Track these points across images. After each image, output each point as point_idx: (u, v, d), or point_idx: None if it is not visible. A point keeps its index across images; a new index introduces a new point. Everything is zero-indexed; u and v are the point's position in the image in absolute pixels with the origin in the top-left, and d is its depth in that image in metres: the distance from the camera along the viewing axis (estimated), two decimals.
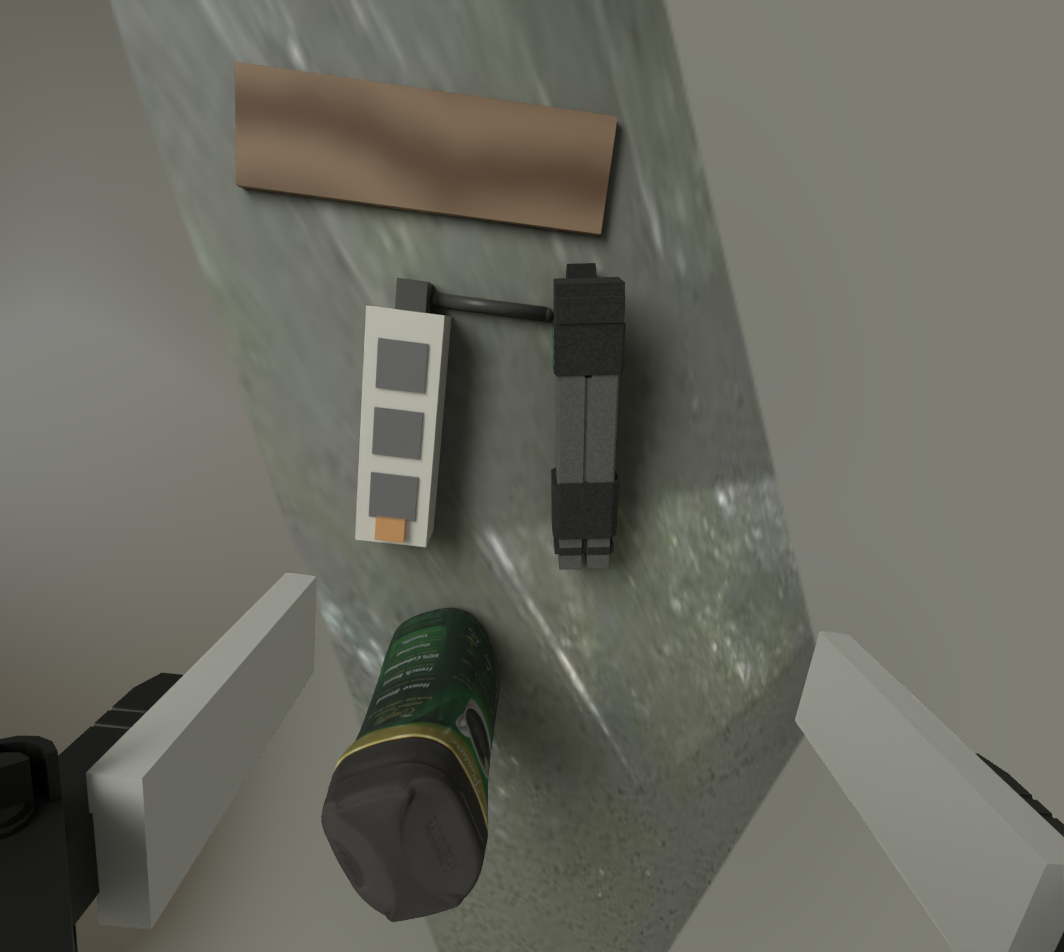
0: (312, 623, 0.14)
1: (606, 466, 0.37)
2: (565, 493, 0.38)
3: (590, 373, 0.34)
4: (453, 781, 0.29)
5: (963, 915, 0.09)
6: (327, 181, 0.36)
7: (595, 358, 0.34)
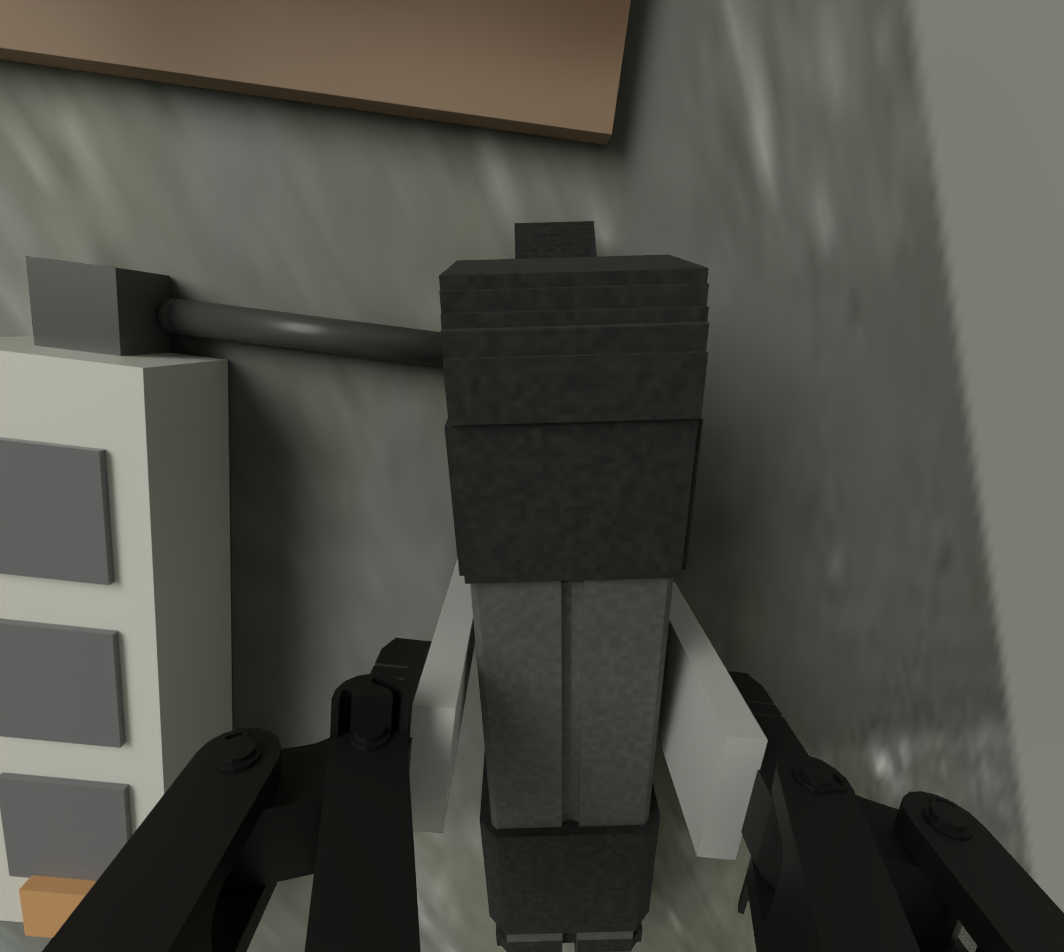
0: None
1: (627, 794, 0.13)
2: (514, 852, 0.14)
3: (578, 575, 0.10)
4: None
5: (692, 793, 0.11)
6: None
7: (595, 530, 0.10)
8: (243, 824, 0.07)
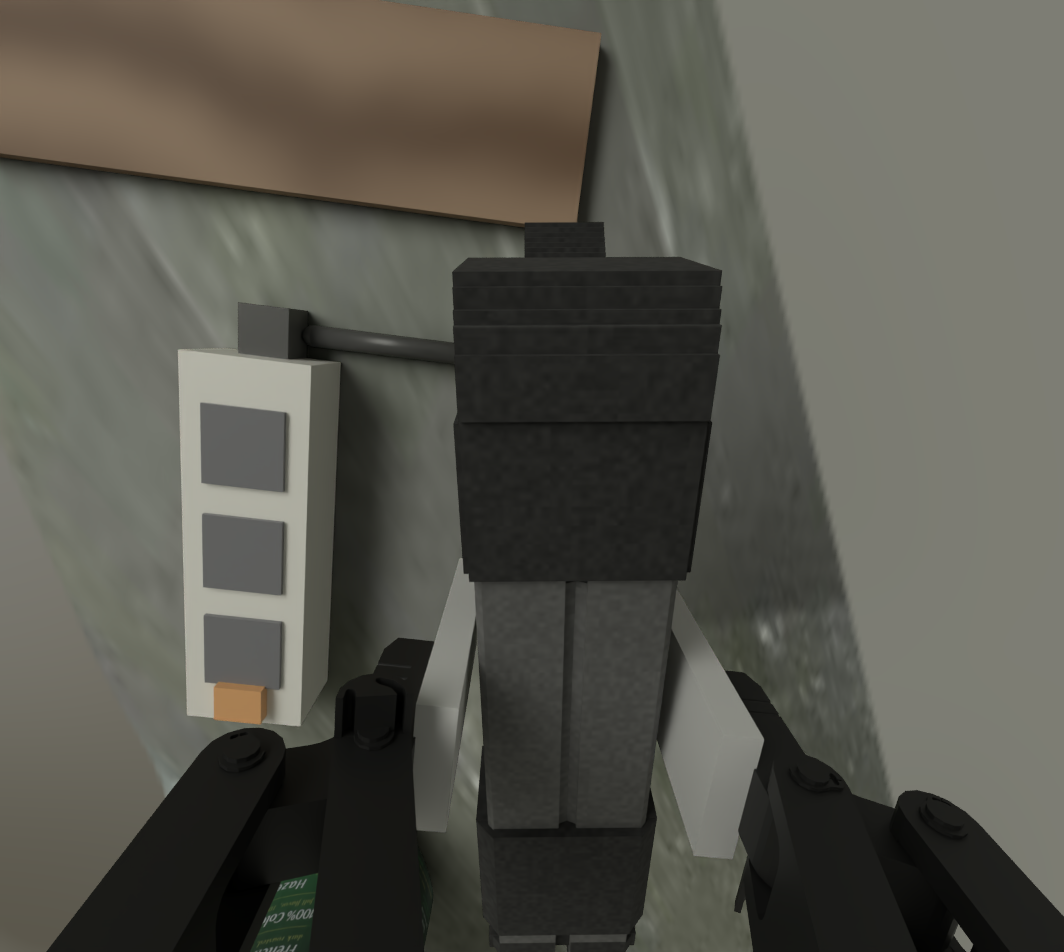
0: None
1: (625, 796, 0.13)
2: (510, 853, 0.14)
3: (583, 575, 0.10)
4: None
5: (689, 793, 0.11)
6: (121, 143, 0.22)
7: (601, 531, 0.10)
8: (247, 824, 0.07)
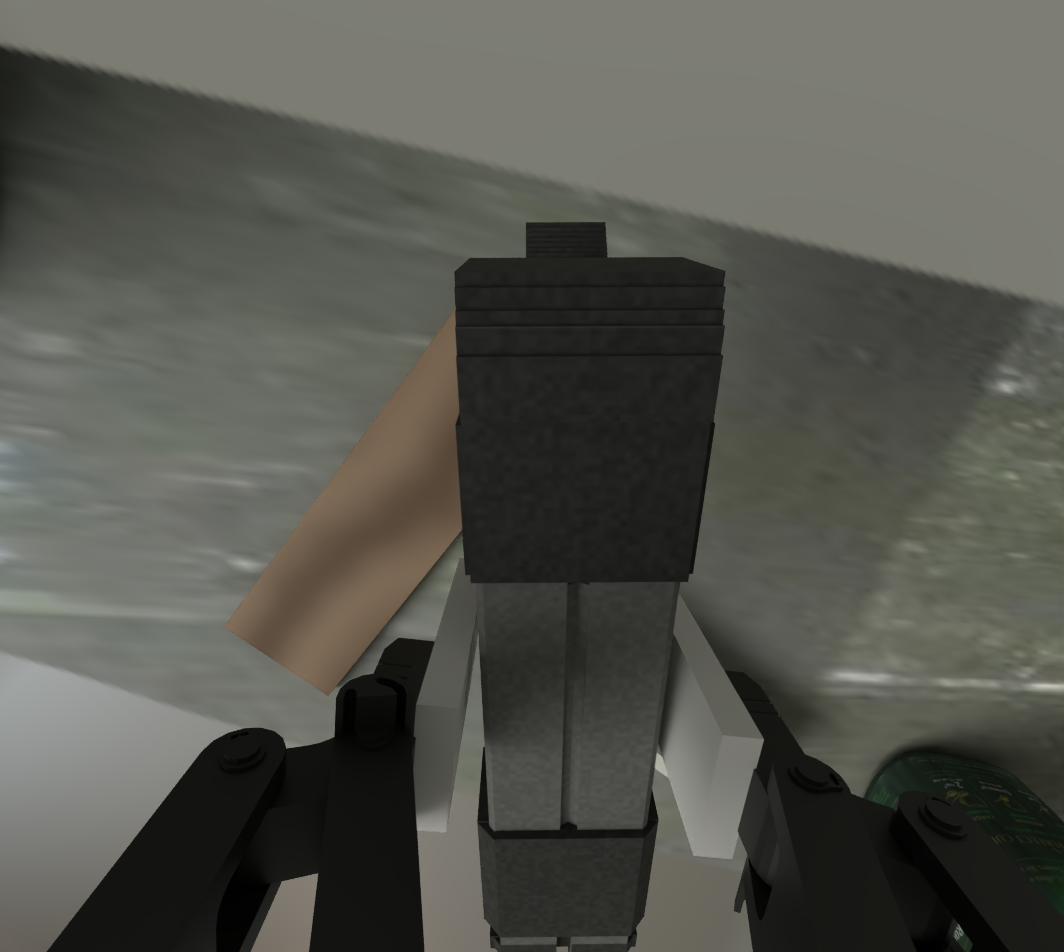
0: None
1: (627, 798, 0.13)
2: (511, 855, 0.14)
3: (585, 577, 0.10)
4: None
5: (689, 792, 0.11)
6: (373, 613, 0.31)
7: (603, 532, 0.10)
8: (248, 824, 0.07)
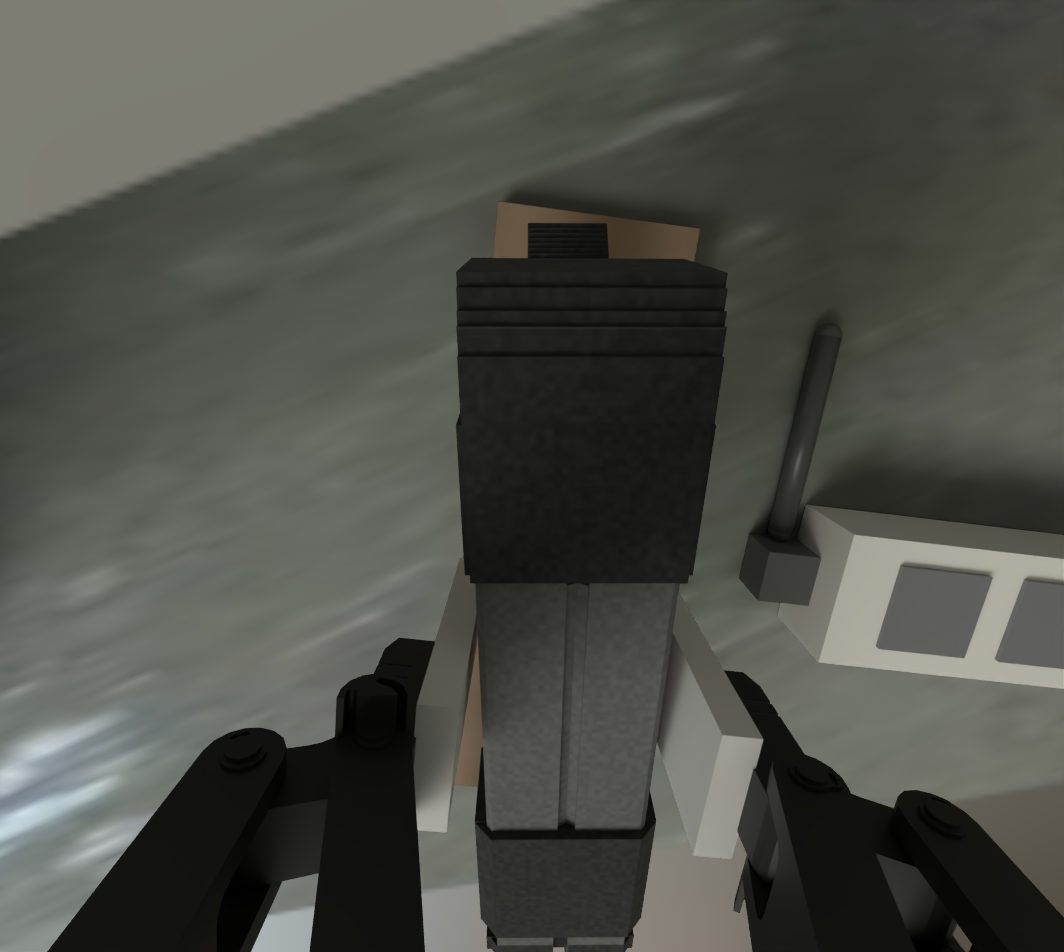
0: None
1: (624, 799, 0.13)
2: (509, 855, 0.14)
3: (585, 578, 0.10)
4: None
5: (688, 792, 0.11)
6: None
7: (603, 533, 0.10)
8: (248, 823, 0.07)
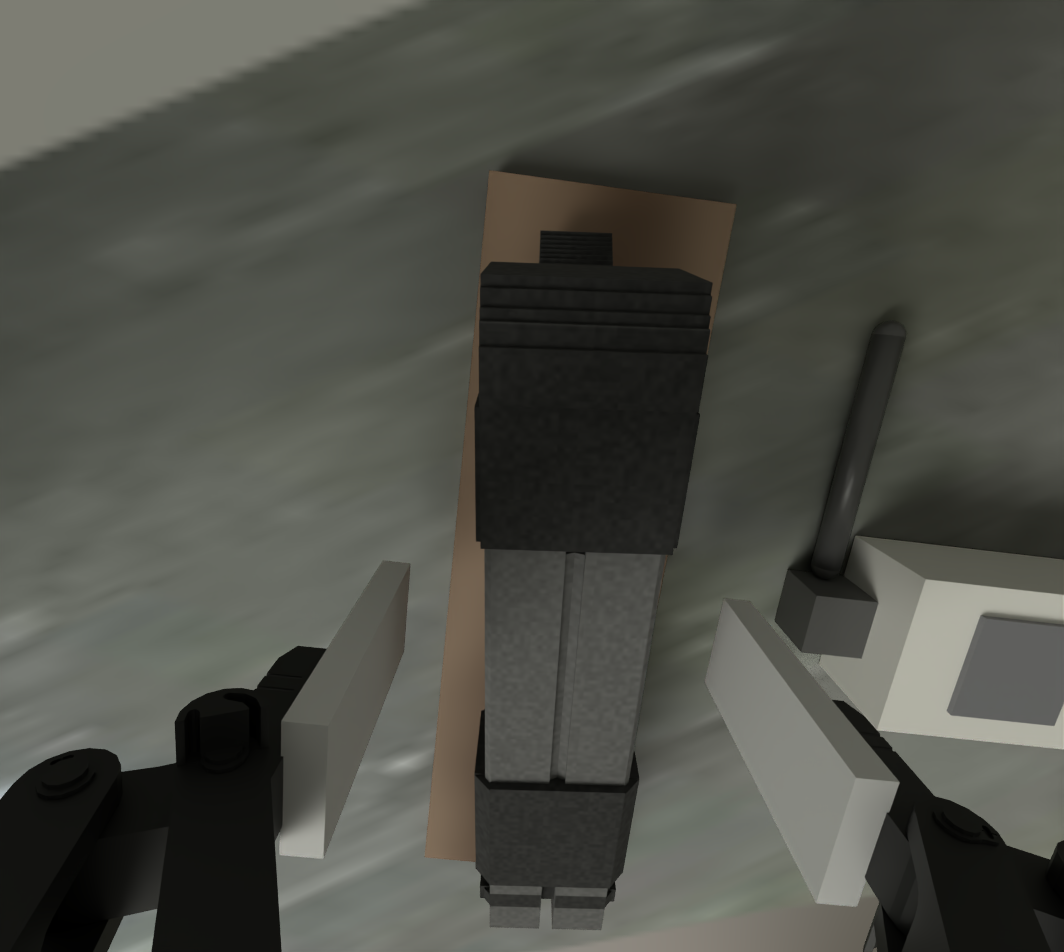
0: (406, 606, 0.15)
1: (611, 755, 0.14)
2: (504, 805, 0.15)
3: (582, 547, 0.12)
4: None
5: (804, 834, 0.11)
6: None
7: (599, 508, 0.11)
8: (74, 850, 0.07)
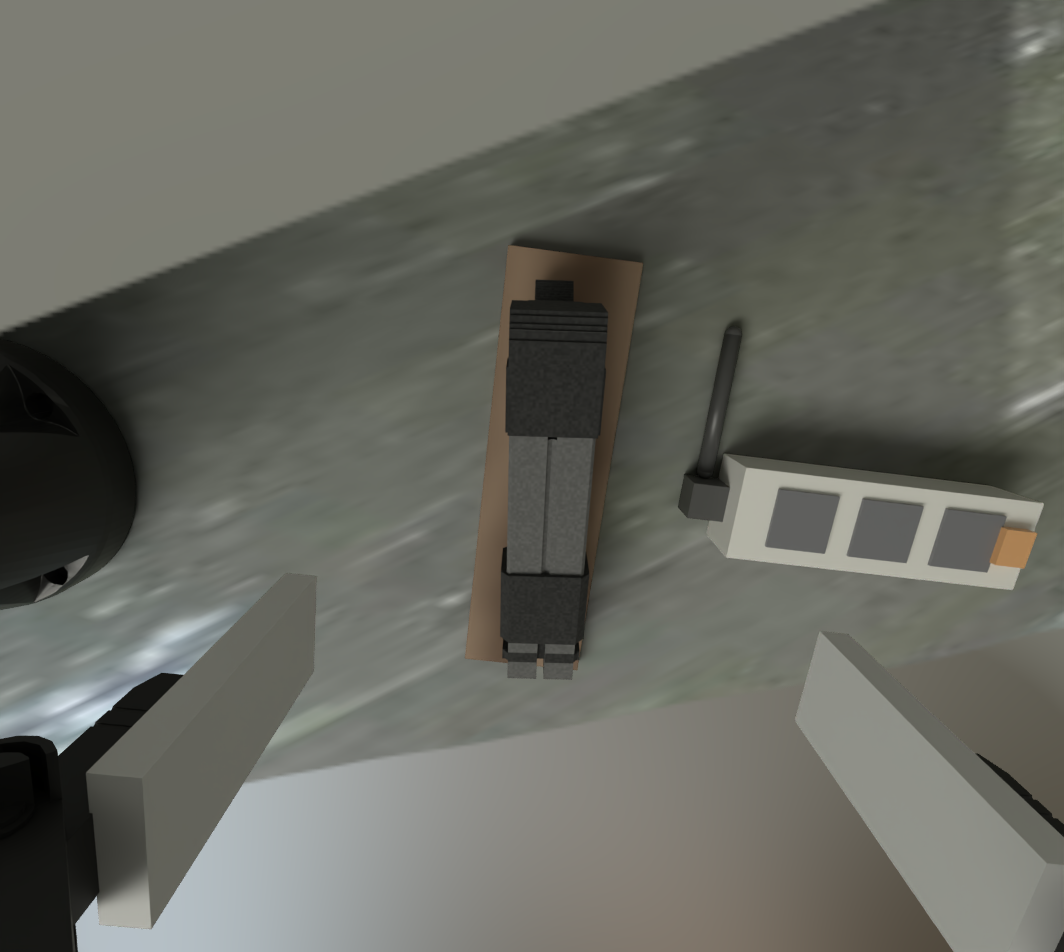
0: (312, 623, 0.14)
1: (573, 555, 0.28)
2: (517, 586, 0.28)
3: (555, 434, 0.25)
4: None
5: (963, 915, 0.09)
6: None
7: (563, 415, 0.24)
8: None
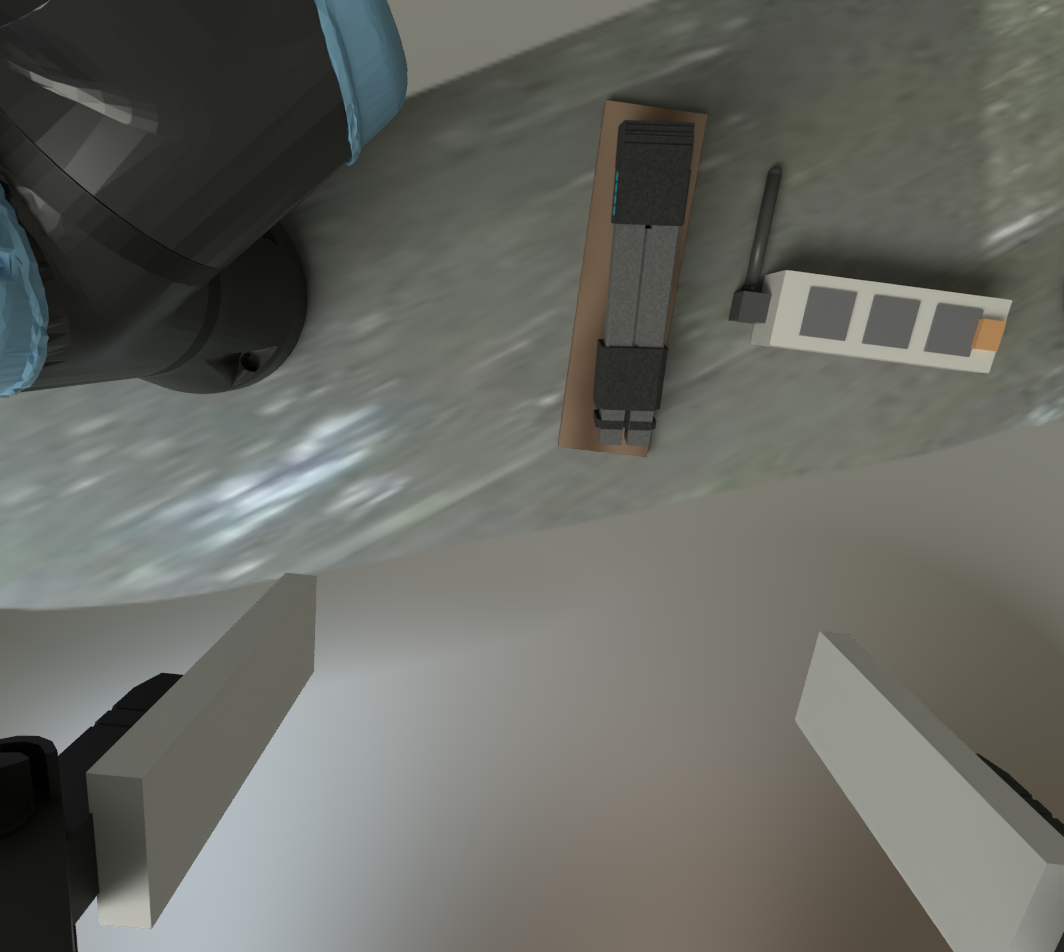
0: (312, 623, 0.14)
1: (657, 330, 0.37)
2: (613, 357, 0.37)
3: (651, 222, 0.34)
4: None
5: (963, 915, 0.09)
6: None
7: (657, 206, 0.34)
8: None
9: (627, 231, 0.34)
